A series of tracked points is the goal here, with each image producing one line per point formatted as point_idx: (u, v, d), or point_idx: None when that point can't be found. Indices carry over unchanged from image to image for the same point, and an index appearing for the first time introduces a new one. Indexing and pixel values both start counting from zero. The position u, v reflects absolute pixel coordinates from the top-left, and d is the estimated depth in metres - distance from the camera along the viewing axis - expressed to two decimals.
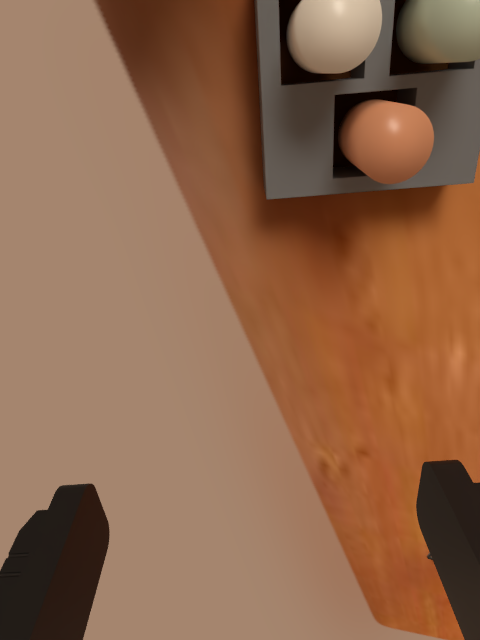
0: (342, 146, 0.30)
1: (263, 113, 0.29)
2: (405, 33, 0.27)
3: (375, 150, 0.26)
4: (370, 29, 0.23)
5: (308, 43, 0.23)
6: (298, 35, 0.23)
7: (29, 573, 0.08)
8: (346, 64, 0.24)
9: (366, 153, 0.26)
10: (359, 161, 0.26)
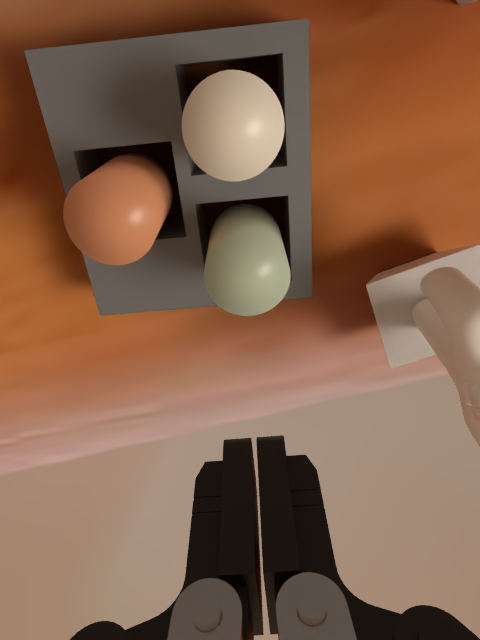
0: (113, 159, 0.24)
1: (139, 39, 0.21)
2: (234, 213, 0.25)
3: (100, 197, 0.20)
4: (229, 169, 0.20)
5: (212, 88, 0.18)
6: (220, 72, 0.18)
7: (230, 510, 0.09)
8: (192, 144, 0.19)
9: (95, 186, 0.20)
10: (84, 178, 0.20)
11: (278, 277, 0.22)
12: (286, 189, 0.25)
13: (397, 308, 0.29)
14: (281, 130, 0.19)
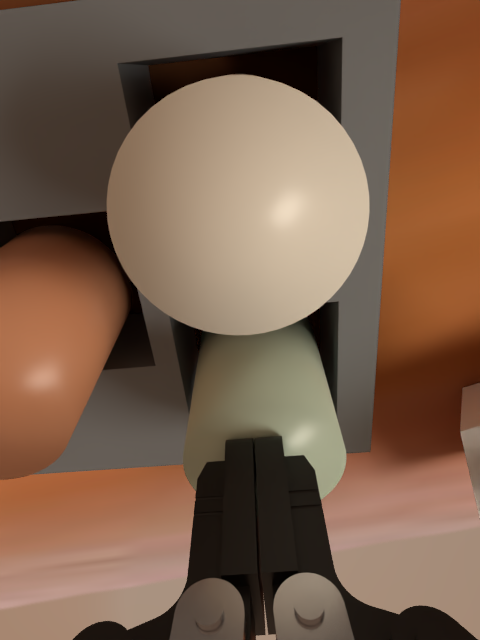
0: (10, 243, 0.12)
1: (38, 8, 0.10)
2: None
3: None
4: (229, 310, 0.08)
5: (182, 125, 0.07)
6: (203, 83, 0.06)
7: (231, 510, 0.09)
8: (137, 259, 0.08)
9: None
10: None
11: (323, 463, 0.12)
12: None
13: None
14: (360, 227, 0.07)
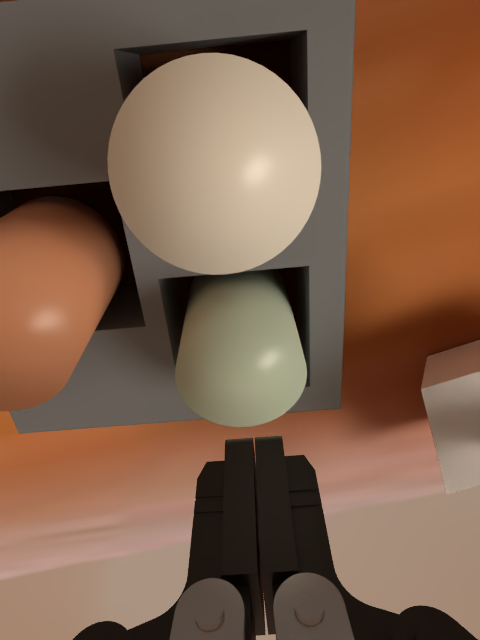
0: (15, 210, 0.14)
1: (45, 0, 0.12)
2: None
3: None
4: (209, 252, 0.10)
5: (169, 92, 0.08)
6: (186, 58, 0.08)
7: (231, 510, 0.09)
8: (132, 206, 0.09)
9: None
10: None
11: (288, 377, 0.15)
12: (306, 257, 0.15)
13: (464, 419, 0.20)
14: (314, 180, 0.09)
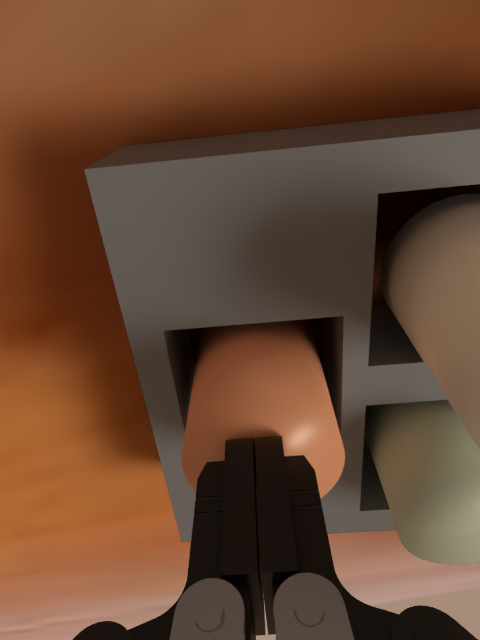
0: None
1: (316, 148, 0.11)
2: None
3: (252, 432, 0.11)
4: None
5: None
6: None
7: (232, 510, 0.09)
8: None
9: (246, 416, 0.11)
10: (227, 403, 0.11)
11: None
12: None
13: None
14: None
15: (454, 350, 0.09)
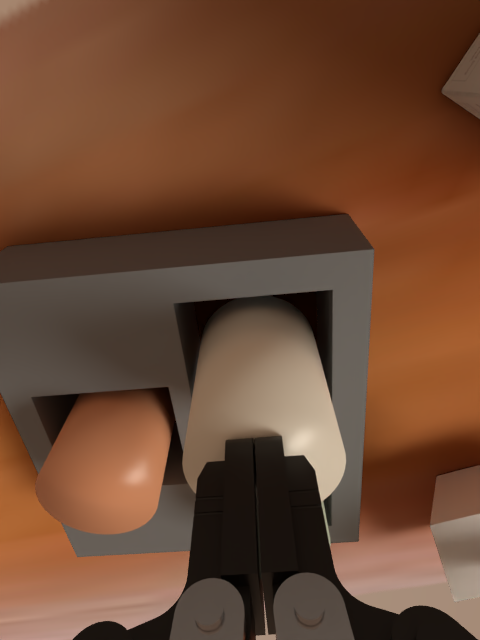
0: None
1: (120, 274, 0.14)
2: None
3: (83, 474, 0.15)
4: None
5: (232, 423, 0.11)
6: (246, 406, 0.11)
7: (232, 510, 0.09)
8: None
9: (76, 463, 0.15)
10: (62, 454, 0.15)
11: None
12: None
13: (469, 547, 0.22)
14: (340, 468, 0.12)
15: None
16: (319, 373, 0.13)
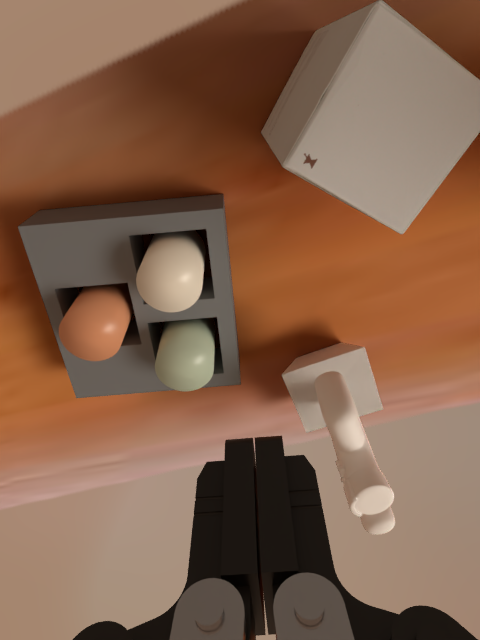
0: None
1: (102, 220, 0.30)
2: None
3: (83, 322, 0.30)
4: (168, 305, 0.30)
5: (154, 262, 0.28)
6: (159, 253, 0.28)
7: (232, 510, 0.09)
8: (143, 292, 0.30)
9: (80, 315, 0.30)
10: (73, 310, 0.30)
11: (205, 368, 0.33)
12: (215, 313, 0.33)
13: (307, 390, 0.38)
14: (200, 284, 0.29)
15: None
16: (196, 251, 0.31)
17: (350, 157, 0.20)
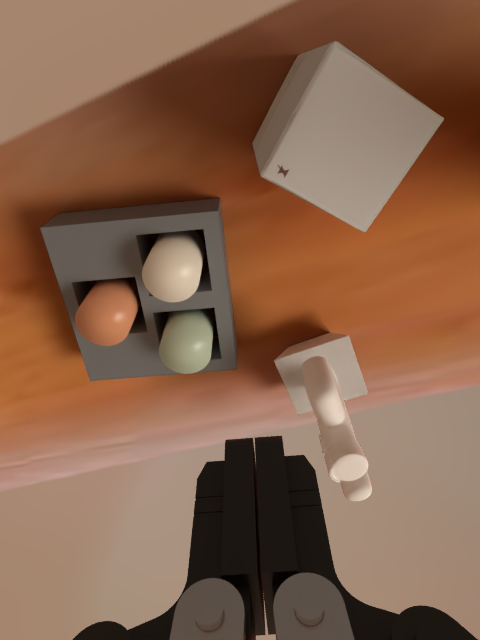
0: None
1: (112, 221, 0.34)
2: None
3: (96, 310, 0.35)
4: (170, 296, 0.34)
5: (158, 257, 0.33)
6: (162, 250, 0.32)
7: (232, 510, 0.09)
8: (148, 284, 0.34)
9: (93, 305, 0.35)
10: (87, 300, 0.35)
11: (203, 352, 0.37)
12: (212, 304, 0.38)
13: (297, 375, 0.42)
14: (198, 277, 0.34)
15: None
16: (195, 249, 0.35)
17: (316, 168, 0.24)
